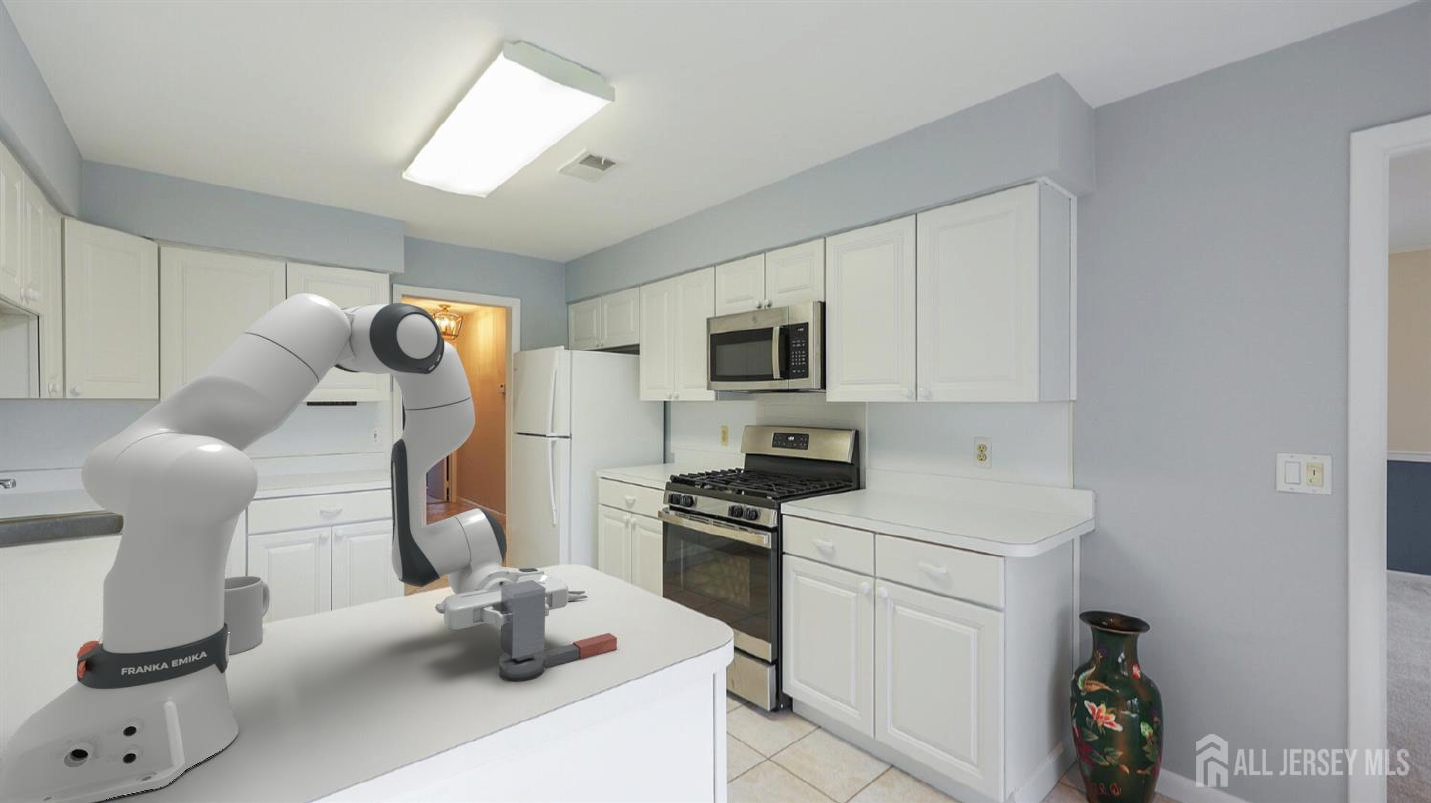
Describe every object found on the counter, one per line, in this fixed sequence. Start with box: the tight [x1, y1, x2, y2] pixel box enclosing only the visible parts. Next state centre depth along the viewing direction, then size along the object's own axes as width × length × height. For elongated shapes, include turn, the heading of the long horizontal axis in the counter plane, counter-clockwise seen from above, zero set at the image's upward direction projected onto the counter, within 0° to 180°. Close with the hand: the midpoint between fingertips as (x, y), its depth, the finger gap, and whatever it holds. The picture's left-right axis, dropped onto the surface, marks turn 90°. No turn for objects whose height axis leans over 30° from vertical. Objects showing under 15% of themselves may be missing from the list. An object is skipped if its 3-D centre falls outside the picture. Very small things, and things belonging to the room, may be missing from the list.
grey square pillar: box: [499, 580, 546, 659], centre depth 98 cm, size 5×5×10 cm
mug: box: [224, 575, 271, 656], centre depth 107 cm, size 12×8×11 cm
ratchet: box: [498, 632, 618, 682], centre depth 102 cm, size 20×7×6 cm, turn 129°
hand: (525, 616), depth 97 cm, fingers closed on grey square pillar, 5 cm apart
